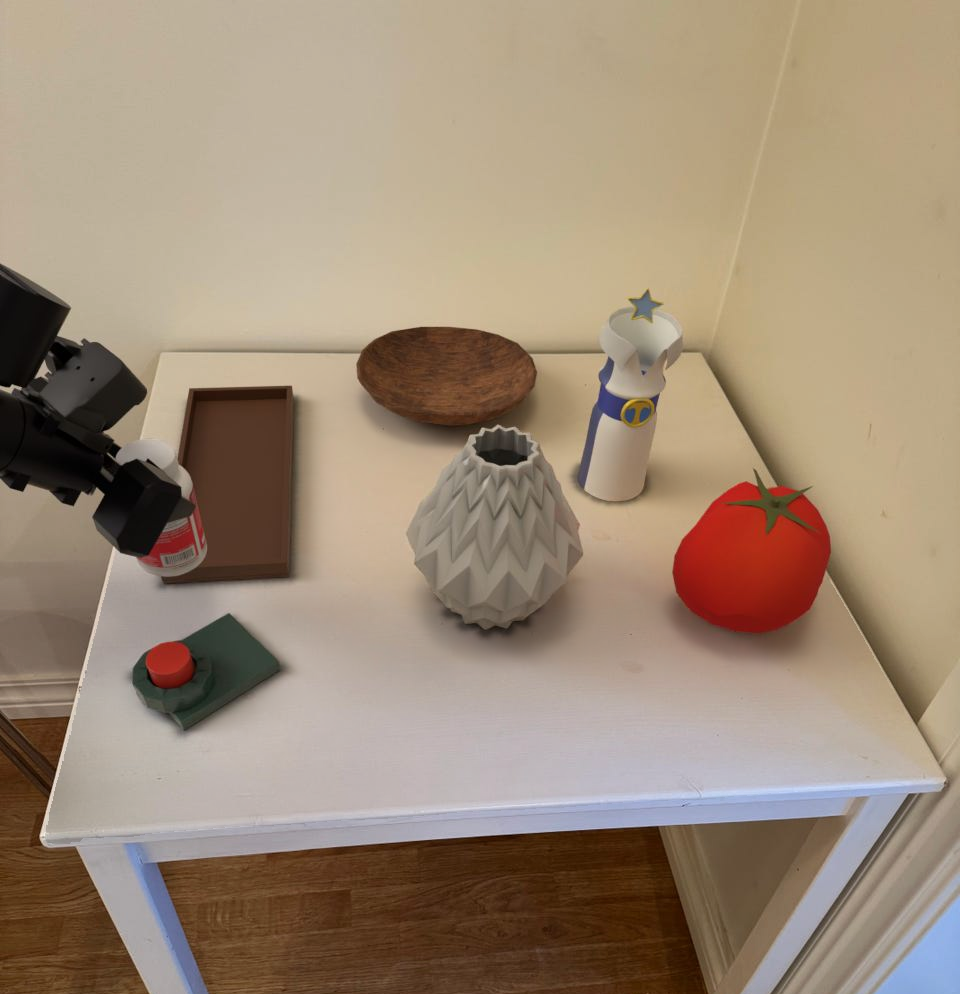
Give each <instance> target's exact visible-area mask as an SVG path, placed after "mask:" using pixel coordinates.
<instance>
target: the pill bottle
mask: <svg viewBox="0 0 960 994" xmlns="http://www.w3.org/2000/svg"><path fill="white" fill-rule="evenodd" d="M147 458H149V459H150V460H151V461H152V462H153V463H154V464H156V465H157V466H158V467H159V468H160V469H162V470H163V471H164V472H165V473H166V474H167V475H168V476H169V477H170V478H171V479H173V480H174V481H175V482H176V483H177V484H178V485H180V486H181V490H182V496H183V497H184V498H186V499H188V500H189V501H191V502H192V503H194V504H195V505H196V508H195V510H194V512H193V513H192V515H191V516H190V517H187V518H183V519H180V520H176V521H173V522H169V523H167V524H166V526H165V528H164V530H163V531H162V533H161V535H160V537H159V538H158V540H157V542H156V544H155V545H154V547H153V549H152V551H151V552H150V554H149V556H146V557H143V558H138V557H135V559H136V562H137V563H138V565H139V567H140V568H141V569H143V570H144V571H145V572H147V573H149V574H150V575H153V576H156V577H161V576H164V577H171V576H178V575H181V574H184V573H187V572H189V571H191V570H193V569H194V568H196V567H197V566H198V565H199V564H200V563H201V562H202V561H203V559H204V558H205V556H206V552H207V543H206V538H205V534H204V530H203V526H202V522H201V518H200V513H199V509H198V505H197V500H196V496H195V492H194V487H193V483H192V480H191V477H190V475H189V474H188V472H187V471H186V470H185V469H184V468H183V467H182V466H180V465H179V464H178V459H177V458H178V455H177V452H176V449H175V448H174V446H173V445H172V444H171V443H169V442H167V441H165V440H162V439H159V438H143V439H137V440H134V441H132V442H129V443H127V444H126V445H124V446H122V448H121V449H120V450H119V452H118V453H117V455H116V460H117V461H118V462H119V463H120V464H121V465H123V464H124V463H126V462H130V461H132V460H134V459H139V460H142V461H145V462H146V460H147Z"/></svg>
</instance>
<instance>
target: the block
mask: <svg viewBox="0 0 960 994" xmlns="http://www.w3.org/2000/svg"><path fill="white" fill-rule="evenodd" d="M171 642H179V643H182V644H184V645H185V646H186V647H187V648H188V649H189V651H190V655H191V658H192V661H193V664H194V668H195V671H194V674H193V677H192V678H191V679H190V680H189V681H188V682H187V683H186V684H184V685H182V686H180V687H178V688H172V689H164V688H161V687H158V686H157V685H156V684H154V682H153V681H152V678H151V676H150V673H149V671H148V668H147V665H146V657H147V655H148V653H149V652H150V650H152V649H153V648H154V647H152V648H150V649H148V650H146V651H145V652H143V653H142V654H141V656H140V657H139V658H138V660H137V662H136V663H135V664H134V666H133V667H132V686H133V688H134V691H135V693H136V696H137V697H138V699H139V700H140V701H141V703H142V704H144V706H145V707H146V708H147V709H149V710H153V711H157V712H159V713H165V714H169V716H170V717H171V718H172V719H173V721H175V722H176V723H177V725H178V726H179V727H180V728H181V729H182V730H183V731H185V730H187V729H188V728H190V727H192V726H193V725H195V724H196V723H198V722H200V721H201V720H203V719H204V718H206V717H207V716H209V715H210V714H212V713H214V712H216V711H218V710H219V709H220V708H222V707H224V706H225V705H226V704H228V703H230V702H231V701H233V700H234V699H236V698H238V697H239V696H241V695H242V694H244V693H246V692H247V691H248V690H250V689H252V688H253V687H255V686H257V685H258V684H261V682H263V681H265V680H266V679H268V678H269V677H271V676H272V675H274V674H276V673H278V672H279V671H280V670H281V664H280V661H279V660H278V659H277V658H276V657H275V656H274V655H273V654H272V653H271V652H270V651H269V650H268V649H267V648H266V647H265V646H264V645H263V644H262V643H261V642H260V641H259V640H258V639H256V637H254V635H253V634H251V632H249V631H248V630H247V629H246V628H245V627H244V626H243V625H242V624H241V623H240V622H239V621H238V620H237V619H236V618H235V617H234V616H233V615H232V614H231V613H230V612H228V613H226V614H224V615H222V616H221V617H219V618H217V619H216V620H214V621H212V622H210V623H209V624H207V625H205V626H203V627H202V628H200V629H198V630H197V631H195V632H193V633H191V634H189V635H187V636H186V637H184V638H182V639H180V640H173V641H171Z"/></svg>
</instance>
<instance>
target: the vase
mask: <svg viewBox="0 0 960 994" xmlns="http://www.w3.org/2000/svg"><path fill="white" fill-rule="evenodd" d="M580 527H581V524H580V521H579V520H578V518H577V516H576V515H575V512H574V511H573V509H572V507H571V505H570V503H569V502H568V500H567V498H566V495H565V494H564V493H563V489H562V485H561V482H560V481H559V480H558V479H557V476H556V473H555V471H554V467H553V466H552V465H551V463H550V462H548V461H547V460H546V457H545V455H544V452H543V450H542V448H541V444H540V442H538V441H536V440H533V438H532V434H531V432H521V431H520V430H519V429H518V427H516V426H511V427H508V428H506V427H504V426H503V425H500V424H496V425H495V426H494V427H492V428H487V427H481V428H480V430H479V432H478V433H476V434H475V433H473V434H470V435H469V436H468V439H467V441H466V442H465V444H464V446H463V448H462V449H461V450H459V451H457V452H456V454H454V456H453V458H452V459H451V461H450V462H449V464H447V465H446V466H445V467H443V468H442V469H441V471H440V473H439V476H438V478H437V481H436V483H435V486H434V487H433V488H432V489H431V490H430V491H429V493H427V495H426V496H425V497H424V498H423V499H421V501H420V502H419V504H418V505H417V509H416V511H415V514H414V516H413V518H412V520H411V522H410V524H409V525H408V528H407V530H406V532H405V535H406V538H407V540H408V542H409V544H410V547H411V549H412V551H413V554H414V560H413V565H415V567H416V568H417V569H418V570H419V572H420V573H421V574H422V576H424V578H425V581H426V582H427V584H428V586H429V587H430V588H429V589H430V590H431V591H432V592H433V593H434V594H435V596H436V597H438V599H439V600H440V602H442V604H443V605H444V606H445V607H446V608H447V609H450V612H451V613H455V614H458V615H460V616H461V618H462V620H463V622H464V624H467V625H468V624H477V625H479V627H481V628H482V629H483V630H485V631H487V630H489V629H491V628H493V627H496V626H497V627H500V628H502V629H503V628H504V629H509V627H510V626H511V625H512V623H513V622H515V621H516V622H517V621H525V620H526V618H528V617H529V616H530V615H531V614H532V613H534V612H535V611H537V610H538V609H539V608H541V607H542V606H544V605H545V604H546V603H548V601H549V600H550V599H551V597H552V595H553V594H554V593H555V591H557V590H558V589H559V588H560V587H561V586H563V585H565V583H566V582H567V577H569V575H570V574H571V572H572V571H573V570H574V568H575V567H576V566H577V564H578V563H579V562H580V560H581V559H582V558H583V556H584V549H583V546H582V542H581V537H580V533H579V530H580Z"/></svg>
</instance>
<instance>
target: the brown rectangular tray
mask: <svg viewBox="0 0 960 994" xmlns="http://www.w3.org/2000/svg"><path fill="white" fill-rule="evenodd" d="M294 401H295V400H294V391H293V385H260V386H258V385H257V386H224V387H222V386H221V387H191V388H190V387H189V388H188V394H187V399H186V405H185V411H184V418H183V423H182V429H181V430H182V431H181V435H180V441H179V447H178V454H177V459H178V464H179V465H180V466H182V467H183V468H184V469H185V470H186V471H187V472H188V474H189V475H190V477H191V480H192V483H193V487H194V492H195V496H196V500H197V505H198V509H199V513H200V518H201V522H202V526H203V530H204V534H205V538H206V543H207V552H206V556H205V558H204V559H203V561H202V562H201V563H200V564H199V565H198V566H197V567H196V568H194V569H193V570H191V571H189V572H187V573H184V574H181V575H178V576H171V577H164V576H160V577H161V580H162V583H163V584H164V585H165V584H179V583H181V584H182V583H200V582H217V581H218V582H219V581H220V582H221V581H236V580H237V581H238V580H255V579H256V580H257V579H271V578H272V579H273V578H288V577H290V565H291V563H290V562H291V529H292V528H291V524H292V523H291V522H292V482H293V446H294V445H293V444H294V443H293V442H294V441H293V440H294V407H295V405H294V404H295V403H294Z"/></svg>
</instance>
